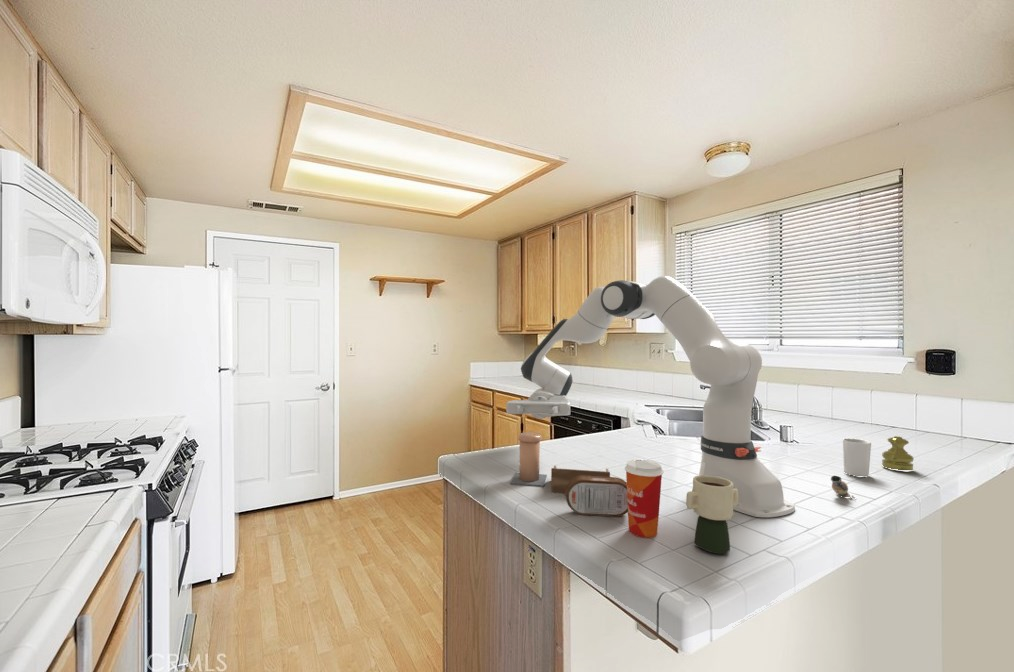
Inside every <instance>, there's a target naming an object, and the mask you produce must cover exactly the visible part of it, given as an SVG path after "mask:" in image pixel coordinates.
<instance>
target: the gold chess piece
mask: <svg viewBox="0 0 1014 672" xmlns="http://www.w3.org/2000/svg"><path fill="white" fill-rule="evenodd" d="M887 442H889V443H890V445H891V448H890V447H889V449H887V450H886V451H883V452H882V453H881V456H882V457H883V458H882V459H881V466H882V465H883V466H884V467H887V468H891V469H898V470H913V471H914V463H913V462H914V459H915V458H914V456H913V455H912V454H909V453H908V451H906V449H905V448H904V447H905V446H906V445H909V441H908V440H907V439H906V438H903V437H902V436H897V435H894V436H893V437H888V438H887Z"/></svg>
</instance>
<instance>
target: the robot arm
mask: <svg viewBox="0 0 1014 672" xmlns="http://www.w3.org/2000/svg"><path fill="white" fill-rule="evenodd" d="M654 316H656V317H657V319H658V320H659V321H660V322H661V323H662V324H663V326H664V327H665V328H666V329H667V330H668V332H670V333H671V335H672V336H673V337H674V338H675V339H676V340H677V342H678V344H679V345H680V346H681V348H682V349H683V351H684V352H685V355H686V357H687V358H688V360H689V366H690V370H691V373H692V374H693V376H694V377H695V378H696V379H697V380H698V381H699V382H701V383H704V384H707V385H709V386H710V388H709V391H708V395H707V398H706V400H705V402H704V404H703V407H702V408H703V409H702V411H703V412H702V435H701V437H700V450H701V459H700V467H699V473H698V476H699V475H709V476H717V477H721V478H725V479H727V480H730V481H731V482H733V487H734V488H735V489H737V490H738V505H736V506H733V511H736V512H739V513H741V514H742V513H743V514H745V515H749V516H752V517H754V518H777V517H782V516H786V515H789V514H792V513H793V512H795V511H796V509H795V504H794V503H793V502H791V501H789V500H786V499H784V490H783V489H784V488H783V485H782V483H781V480H779V478H778V477H777V476H776V475H775V474H774V473H773V472H772V471H770V470H769V468H767V466H765V464H764V463H763V462H761V460H759V458H758V455H757V454H758V452H759V453H760V452H762V451H761V450H760V449H761V448H762V447H761V446H756V447H755V445H754V443H753V441H752V440H751V436H752V435H751V434H752V433H751V432H752V431H751V429H752V410H753V403H754V398H755V394H756V393H755V392H756V387H757V383H758V377H759V374H760V371H761V369H762V364H763V363H762V362H763V359H762V356H761V353H760V352H759V350H757V349H756V347H754V346H752V345H750V344H749V343H746V342H744V341H739V340H737V341H736V340H735V341H731V340H730V339H729V338H727V336H725V334H724V333H723V332H722V330H721V328H720V327H719V325H718V324H717V322H716V318H715V316H714V314H712V312H710V311H709V310H708V309H707V308H706V306H704V305H703V304H702V302H701V301H700V300H699V299H698V298H697V297H696V296H695V295H694V294H693V293H692V292H691V291H690V290H688V289H687V288H686V287H685V285H683V284H681V283H680V282H679V281H678V280H676V279H675V278H672V277H671V276H669V275H662V276H658V277H656V278H654V279H652V281H650V282H649V283H648V284H644V283H640V282H637V281H631V280H629V281H628V280H620V279H619V280H615V281H611V282H609V283H608V284H607V285H605V286H600V285H599V286H597V287H595V288H593V290H592V291H591V292H590V294H588V296H587V297H586V298H585V299H584V301H583V303H582V304H581V305H580V307H579V308H578V311H577V312H576V313H575V314H574V315H573V316H571V317H570V318H563V319H561V320H560V321H559V322H557V324H556V325H555V326H554V327H553V328H552V329H551V330H550V331H549V333H548V334H547V335H546V336H545V337H544V339H542V341H541V342H540V343H539V344H538V345H537V347H536V348H535V349H534V351H532V352H531V353H530V354H528V355H527V356H526V358H525V359H524V360H523V361H522V363H521V367H520V370H521V371H520V372H521V374H522V377H523V378H524V379H526V380H528V381H529V382H532V383H534V384H535V385H537V386H538V387H540V388H538V389H536V390H534V391H533V392H532V393H531V394H530V395H529V397H528V398H527V399H512V400H509V401H507V402H506V404H505V407H506V409H505V411H506V414H509V415H511V414H512V415H531V416H532V417H533V418H536V419H539V420H543V419H546V418H551V417H557V416H558V417H562V416H570V415H571V402H570V399H568V397H567V395H568V393H569V392H570V389H571V387H572V384H573V381H574V380H573V375H572V373H571V372H570V371H569V370H567V369H566V368H563V366H561V365H559V364H556V363H555V362H554V361H552V360H550V359H549V358H548V357H546V355H547V354H548V353H549V351H551V349H552V348H553V347H554V346H555V345H556V343H558V342H561V341H569V342H573V343H579V344H592V343H595V342H597V341H599V340H600V339H601V338H602V337H603V336H604V334H605V333H606V332H607V330H608V328H609V327H610V326H611V324H612V322H613V321H614V319H615V318H625V319H629V320H638V319H639V320H646V319H650V318H653V317H654Z"/></svg>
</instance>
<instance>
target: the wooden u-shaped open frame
mask: <svg viewBox="0 0 1014 672" xmlns="http://www.w3.org/2000/svg"><path fill="white" fill-rule="evenodd" d="M550 470H551V471H550V472H551V473H550V474H551V475H550V476H551V477H550V493H555V494H556V493H557V494H565V489H566V486H567V484H568V483H569V481H570V480H572V479H573V478H575V477H577V476H582V475H583V476H600V477H611V471H609V468H605V470H604V471H603V470H602V471H601V470H587V469H575V468H574V469H572V468H570V469H569V468H558V467H557V465H553V467H551V469H550Z"/></svg>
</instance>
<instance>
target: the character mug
mask: <svg viewBox="0 0 1014 672" xmlns="http://www.w3.org/2000/svg"><path fill="white" fill-rule="evenodd" d="M685 503H686V504H685V505H686V508H687V509H688V510H693V512H694V513H695V514H697V515H698V517H697V521H696V528H695V534H694V540H693V541H694V545H695V546H697V547H699V548H701V549H703V550H704V551H707V552H710V553H714V554H727V553H728V552H730V551H731V542H730V534H729V526H728V525H729V524H728V522H727V521H728V520H731V519H732V518H733V516H734V510H733V506H736V505H738V490H737V489H735V488H734V487H733V482H731V481H730V480H727V479H725V478H721V477H717V476H709V475H699V474H698V475H696V476H694V477H693V478H692V490H691V491H687V492H686V502H685Z"/></svg>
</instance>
